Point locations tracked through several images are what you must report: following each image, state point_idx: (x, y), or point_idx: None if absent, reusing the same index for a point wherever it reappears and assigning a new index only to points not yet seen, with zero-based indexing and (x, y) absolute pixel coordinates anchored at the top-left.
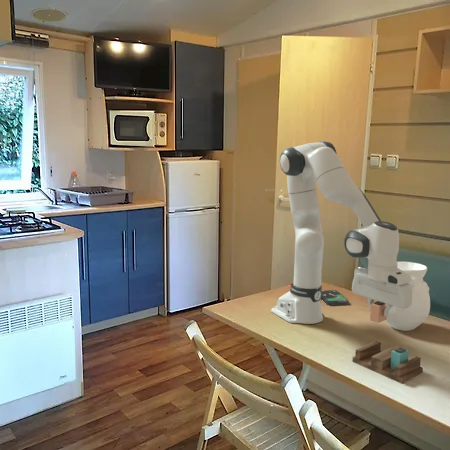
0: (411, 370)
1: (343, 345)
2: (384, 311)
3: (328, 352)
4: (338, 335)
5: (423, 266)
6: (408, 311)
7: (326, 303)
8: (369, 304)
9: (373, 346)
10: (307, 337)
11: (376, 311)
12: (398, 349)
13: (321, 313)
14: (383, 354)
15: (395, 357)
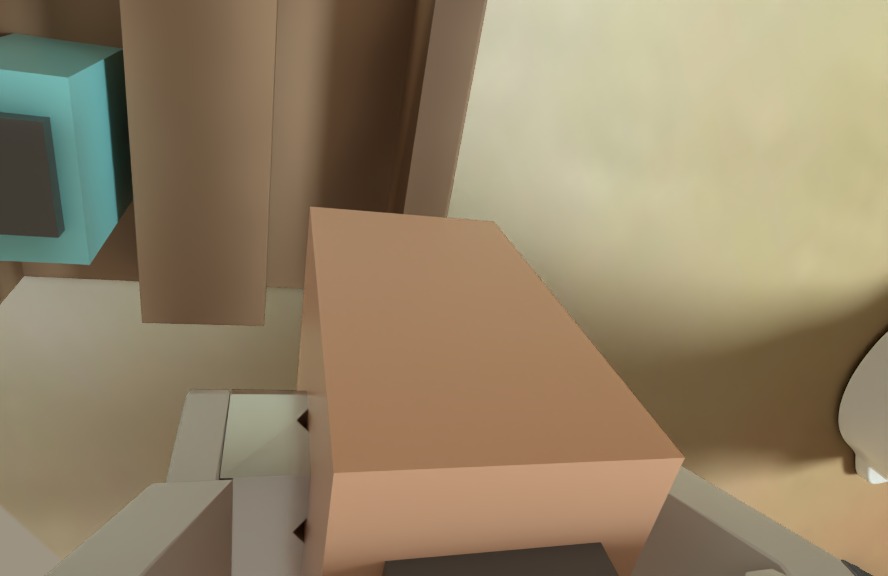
0: None
1: (635, 211)
2: (213, 468)
3: (694, 6)
4: (707, 318)
5: None
6: None
7: (853, 567)
8: (707, 491)
9: None
10: (884, 134)
11: (406, 332)
12: (18, 159)
13: (881, 439)
14: (220, 106)
15: (19, 57)
